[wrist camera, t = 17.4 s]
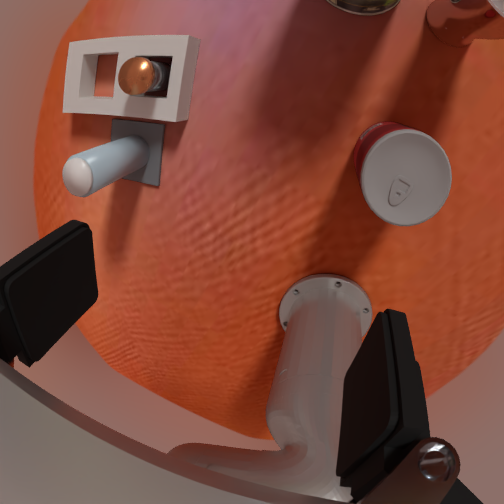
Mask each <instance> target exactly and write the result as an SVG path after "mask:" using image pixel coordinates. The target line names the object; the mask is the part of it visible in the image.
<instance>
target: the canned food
mask: <svg viewBox="0 0 504 504" xmlns="http://www.w3.org/2000/svg"><path fill="white" fill-rule="evenodd" d="M354 165H355V169H356V173H357V176H358V180H359V183H360V187H361V190H362V193H363V195H364V198H365V200H366V202H367V204H368V205H369V207H370V208H371V210H372V211H373V212H374V213H375V214H376V215H377V216H378V217H380V218H381V219H382V220H384V221H386V222H388V223H390V224H393V225H398V226H412V225H417V224H420V223H422V222H425V221H427V220H428V219H430V218H431V217H433V216H434V215H435V214H436V213H437V212H438V211H439V210H440V209H441V207H442V206H443V204H444V203H445V201H446V199H447V197H448V195H449V191H450V188H451V180H452V174H451V166H450V163H449V159H448V157H447V155H446V153H445V151H444V150H443V149H442V147H441V146H440V145H439V143H437V142H436V141H435V140H434V139H433V138H432V137H430V136H429V135H427V134H425V133H423V132H421V131H419V130H416V129H414V128H411V127H408V126H405V125H402V124H399V123H396V122H387V121H385V122H380V123H377V124H374V125H372V126H370V127H369V128H367V129H366V130H365V131H364V132H363V133H362V134H361V136H360V137H359V139H358V141H357V143H356V146H355V150H354Z"/></svg>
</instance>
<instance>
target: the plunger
mask: <svg viewBox="0 0 504 504" xmlns="http://www.w3.org/2000/svg"><path fill="white" fill-rule="evenodd" d="M170 71H171V65H170V64H168V63H162V62H154V61H149V60H148V59H146V58H142V57H133V58H130V59H128V60H127V61H126V62H125V63H124V64H123V65H122V66H121V68H120V71H119V74H118V83H119V86H120V88H121V89H122V91H123V92H125V93H126V94H129V95H139V94H143V93H145V92H149V91H164V90H167V89H168V85H169V78H170Z"/></svg>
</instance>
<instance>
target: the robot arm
mask: <svg viewBox="0 0 504 504" xmlns="http://www.w3.org/2000/svg"><path fill="white" fill-rule="evenodd" d="M97 298H98V287H97V279H96V271H95V261H94V250H93V238H92V231H91V230H90V228H89V225H88V224H87V223H84V222H80V221H77V220H71V221H69V222H67V223H66V224H64V225H63V226H61V227H59V228H58V229H56V230H54V231H53V232H51V233H50V234H48V235H47V236H45V237H43V238H42V239H40V240H39V241H37V242H36V243H34V244H33V245H31V246H30V247H28V248H27V249H25V250H24V251H22V252H21V253H19V254H18V255H16V256H15V257H13V258H12V259H10V260H9V261H8V262H6V263H5V264H3V265H2V266H1V267H0V504H483V503H482V502H481V501H480V500H479V499H478V498H477V497H476V496H475V495H474V494H473V493H472V492H471V491H470V490H469V489H468V488H467V487H466V486H465V485H464V484H463V483H462V482H461V481H460V480H459V479H458V478H457V477H458V475H459V472H460V459H459V456H458V454H457V452H456V450H455V448H454V447H453V446H452V445H451V444H450V443H448V442H447V441H445V440H444V439H440V438H437V437H430V430H429V422H428V414H427V407H426V400H425V393H424V387H423V381H422V376H421V370H420V366H419V363H418V362H417V361H415V356H414V351H413V346H412V341H411V336H410V331H409V327H408V322H407V318H406V315H405V313H403V312H399V311H395V310H391V309H386V310H385V311H384V313H383V312H379V313H378V314H377V315H376V317H375V319H374V321H373V323H372V325H371V327H370V324H371V321H372V307H371V303H370V300H369V298H368V296H367V294H366V292H365V291H364V290H363V289H362V287H360V286H359V285H358V284H357V283H355V282H354V281H352V280H350V279H348V278H346V277H343V276H340V275H334V274H316V275H311V276H308V277H305V278H303V279H301V280H299V281H297V282H296V283H294V284H293V285H292V286H291V287H290V288H289V289H288V290H287V291H286V293H285V294H284V296H283V299H282V301H281V304H280V308H279V318H280V323H281V325H282V327H283V329H284V331H285V336H284V340H283V344H282V348H281V352H280V356H279V360H278V364H277V368H276V371H275V375H274V379H273V383H272V386H271V390H270V394H269V398H268V401H267V406H266V421H267V426H268V428H269V430H270V433H271V435H272V436H273V438H274V440H275V441H276V443H277V444H278V445H279V447H280V448H281V450H279V451H266V450H262V451H259V450H250V449H241V448H233V447H226V446H219V445H211V444H202V443H187V444H182V445H179V446H177V447H175V448H173V449H172V450H170V451H169V452H168V453H167V454H166V453H163V452H160V451H158V450H156V449H154V448H151V447H149V446H147V445H144V444H142V443H140V442H137V441H135V440H133V439H131V438H129V437H127V436H125V435H123V434H121V433H119V432H117V431H115V430H113V429H111V428H109V427H107V426H105V425H103V424H101V423H99V422H97V421H96V420H94V419H92V418H90V417H88V416H86V415H84V414H83V413H81V412H79V411H78V410H76V409H74V408H72V407H70V406H69V405H67V404H66V403H64V402H63V401H61V400H59V399H58V398H56V397H55V396H53V395H51V394H50V393H48V392H47V391H45V390H43V389H42V388H41V387H39V386H38V385H36V384H35V383H33V382H32V381H30V380H29V379H27V378H26V377H24V376H23V375H22V374H20V373H19V372H18V371H16V370H15V369H14V357H15V356H16V355H17V356H18V359H19V361H21V362H22V363H24V364H25V365H27V366H28V367H30V366H31V365H32V364H33V363H34V362H35V361H39V360H40V359H41V358H42V357H43V356H44V355H45V354H46V352H48V351H49V349H50V348H51V347H52V346H53V345H54V344H55V343H56V342H57V341H58V340H59V339H60V338H61V337H62V336H63V335H64V334H65V333H66V332H67V331H68V329H69V328H70V327H71V326H72V325H73V324H74V323H75V322H76V321H77V320H78V319H79V318H80V317H81V316H82V315H83V314H84V313H85V312H86V311H87V310H88V309H89V308H90V307H91V306H92V305H93V304H94V303H95V302H96V300H97ZM369 327H370V329H369ZM368 329H369V331H368ZM367 331H368V333H367V335H366V337H365V339H364V341H363V343H362V337H363V336H364V335H365V334H366V332H367Z"/></svg>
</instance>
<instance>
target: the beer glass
mask: <svg viewBox="0 0 504 504" xmlns="http://www.w3.org/2000/svg"><path fill="white" fill-rule="evenodd" d="M426 17H427V22H428V25H429V27H430V29H431V31H432V32H433V33H434V35H435V36H436V37H437V38H438V39H439V40H441V41H442V42H443V43H445V44H447V45H449V46H453V47H464V46H467V45H469V44H470V43H471V42H472V41H473V40H474V39H487V40H499V39H504V0H434V1H433V2H432V3H431V4H430V5H429V6H428V9H427V14H426Z"/></svg>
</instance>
